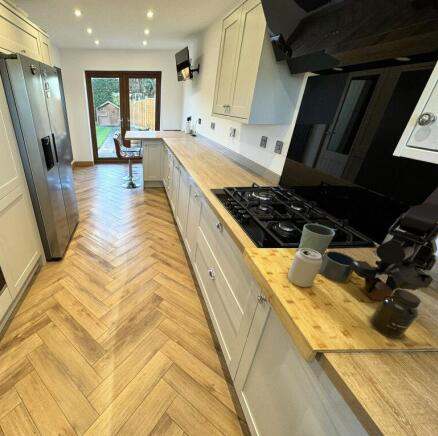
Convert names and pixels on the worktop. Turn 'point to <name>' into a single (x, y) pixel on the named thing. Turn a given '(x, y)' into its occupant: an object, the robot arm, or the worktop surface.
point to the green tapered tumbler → (316, 237)
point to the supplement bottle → (395, 313)
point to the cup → (336, 266)
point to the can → (305, 267)
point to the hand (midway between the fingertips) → (375, 293)
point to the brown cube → (379, 291)
